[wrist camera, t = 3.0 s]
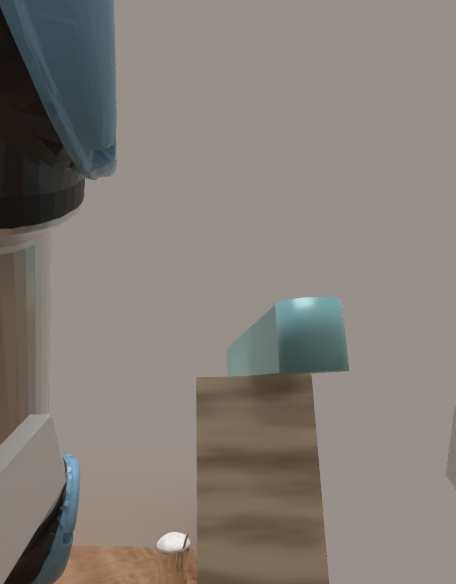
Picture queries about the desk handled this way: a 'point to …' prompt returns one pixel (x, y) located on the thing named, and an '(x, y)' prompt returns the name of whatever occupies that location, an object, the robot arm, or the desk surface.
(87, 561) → the desk surface
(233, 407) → the stand
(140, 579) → the desk surface
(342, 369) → the teal rounded-top bar
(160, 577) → the milkshake
